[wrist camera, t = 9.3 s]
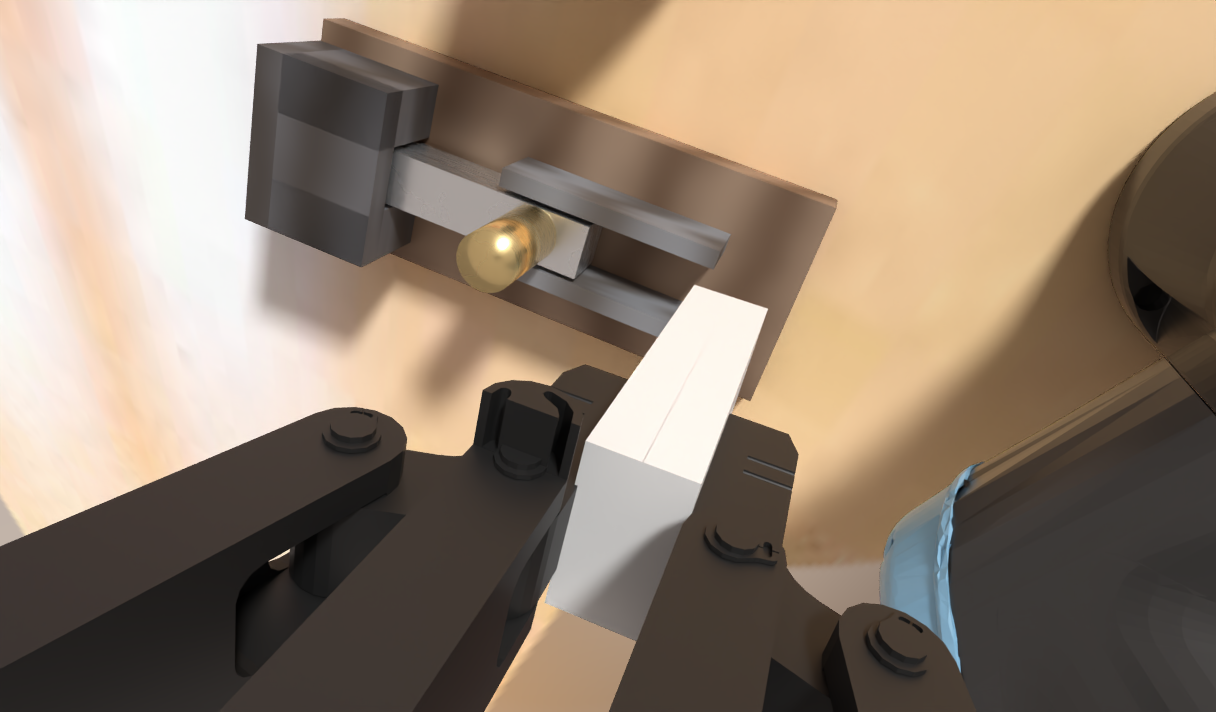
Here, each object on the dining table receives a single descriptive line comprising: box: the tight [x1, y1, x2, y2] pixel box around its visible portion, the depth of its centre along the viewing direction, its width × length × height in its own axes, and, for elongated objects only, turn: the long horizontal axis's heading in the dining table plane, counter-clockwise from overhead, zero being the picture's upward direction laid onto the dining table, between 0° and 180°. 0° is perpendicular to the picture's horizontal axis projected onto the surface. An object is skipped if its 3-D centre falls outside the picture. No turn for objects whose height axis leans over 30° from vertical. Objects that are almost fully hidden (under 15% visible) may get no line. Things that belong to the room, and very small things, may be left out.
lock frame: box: [245, 18, 837, 401], centre depth 43 cm, size 30×12×7 cm, turn 71°
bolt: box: [385, 141, 602, 293], centre depth 41 cm, size 16×3×8 cm, turn 71°
